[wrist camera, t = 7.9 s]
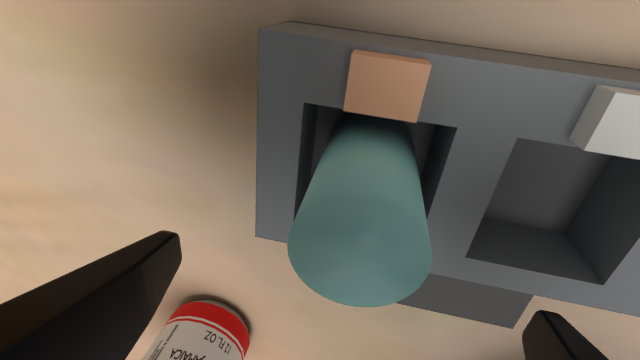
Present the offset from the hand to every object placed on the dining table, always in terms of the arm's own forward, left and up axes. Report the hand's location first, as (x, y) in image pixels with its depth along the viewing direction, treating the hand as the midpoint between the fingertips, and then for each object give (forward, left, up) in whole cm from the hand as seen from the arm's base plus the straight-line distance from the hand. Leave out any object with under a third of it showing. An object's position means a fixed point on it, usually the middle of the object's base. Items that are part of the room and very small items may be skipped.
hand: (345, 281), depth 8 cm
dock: (0, -4, -10) cm, 10 cm away
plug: (0, 0, -9) cm, 9 cm away
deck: (-7, -7, -10) cm, 14 cm away
